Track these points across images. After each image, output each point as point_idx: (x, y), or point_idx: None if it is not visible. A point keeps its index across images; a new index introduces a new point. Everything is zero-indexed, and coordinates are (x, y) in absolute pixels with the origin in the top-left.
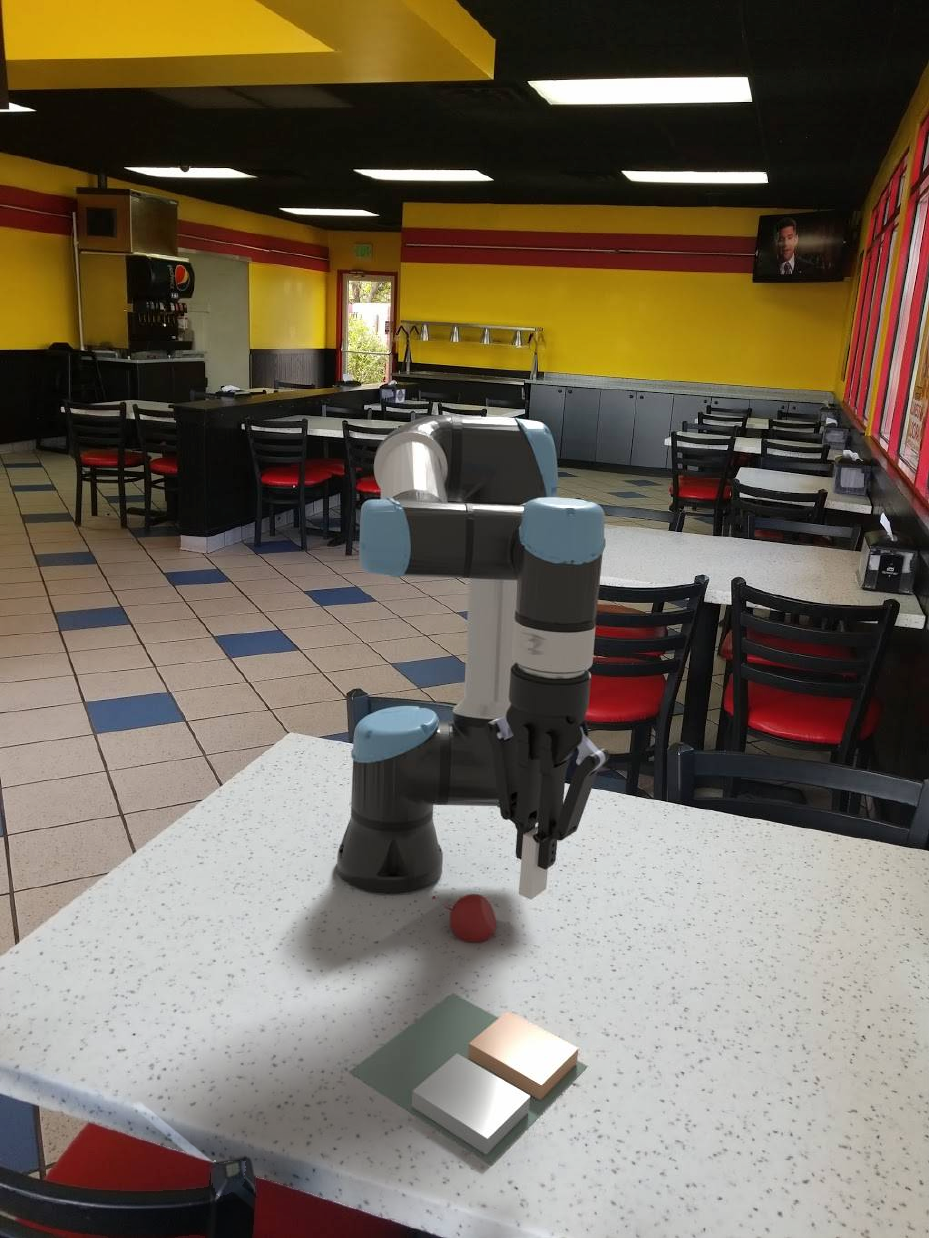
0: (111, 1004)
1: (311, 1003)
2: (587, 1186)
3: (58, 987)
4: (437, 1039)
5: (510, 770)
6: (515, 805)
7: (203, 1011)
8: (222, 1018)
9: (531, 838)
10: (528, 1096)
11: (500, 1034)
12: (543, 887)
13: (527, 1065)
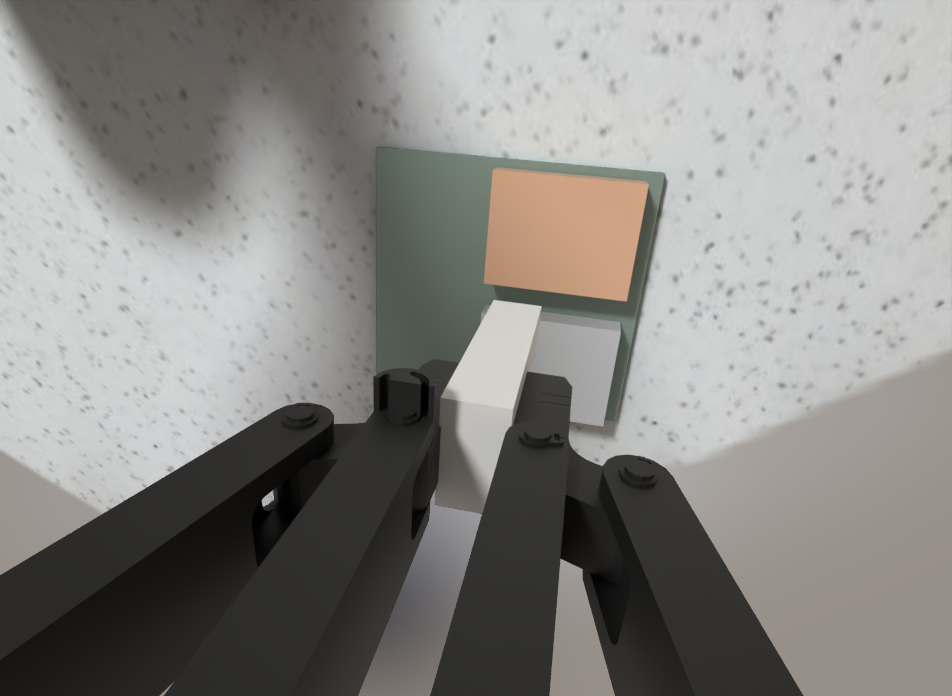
0: (95, 424)
1: (240, 293)
2: (740, 379)
3: (36, 432)
4: (427, 264)
5: (123, 674)
6: (302, 485)
7: (167, 380)
8: (192, 378)
9: (477, 510)
10: (618, 333)
11: (514, 235)
12: (538, 327)
13: (588, 275)
